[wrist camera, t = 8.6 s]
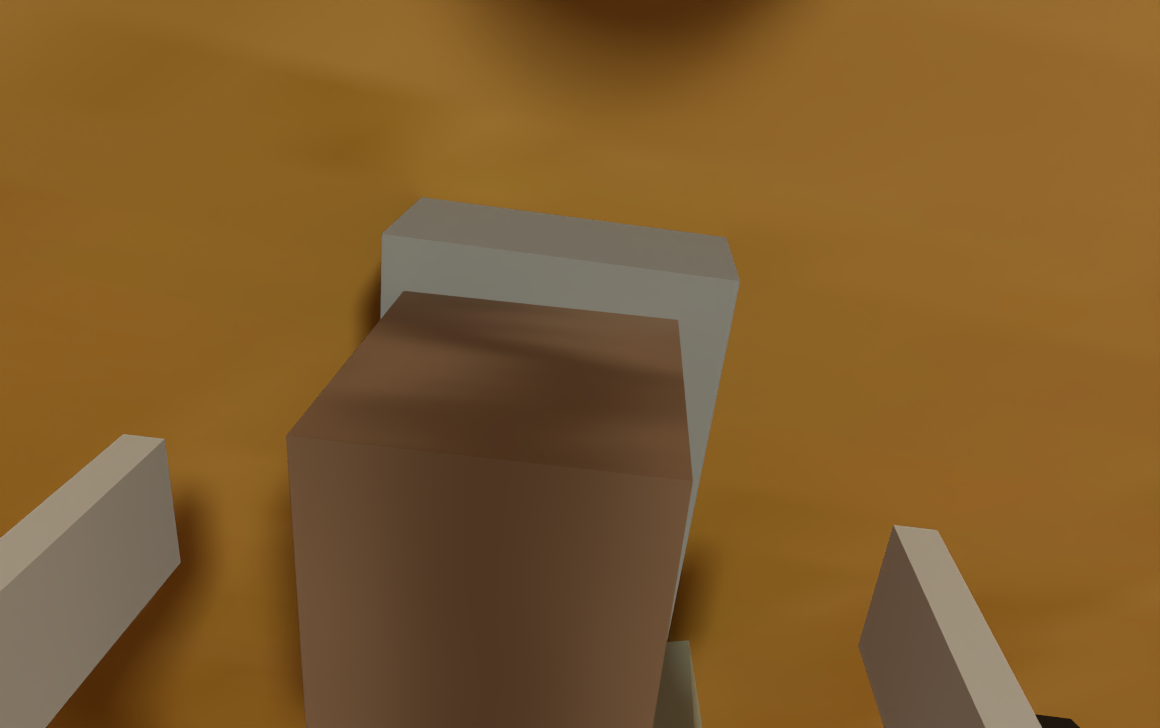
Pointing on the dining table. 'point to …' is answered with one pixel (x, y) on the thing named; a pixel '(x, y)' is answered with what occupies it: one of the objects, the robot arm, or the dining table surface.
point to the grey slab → (577, 281)
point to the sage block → (677, 690)
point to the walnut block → (491, 519)
